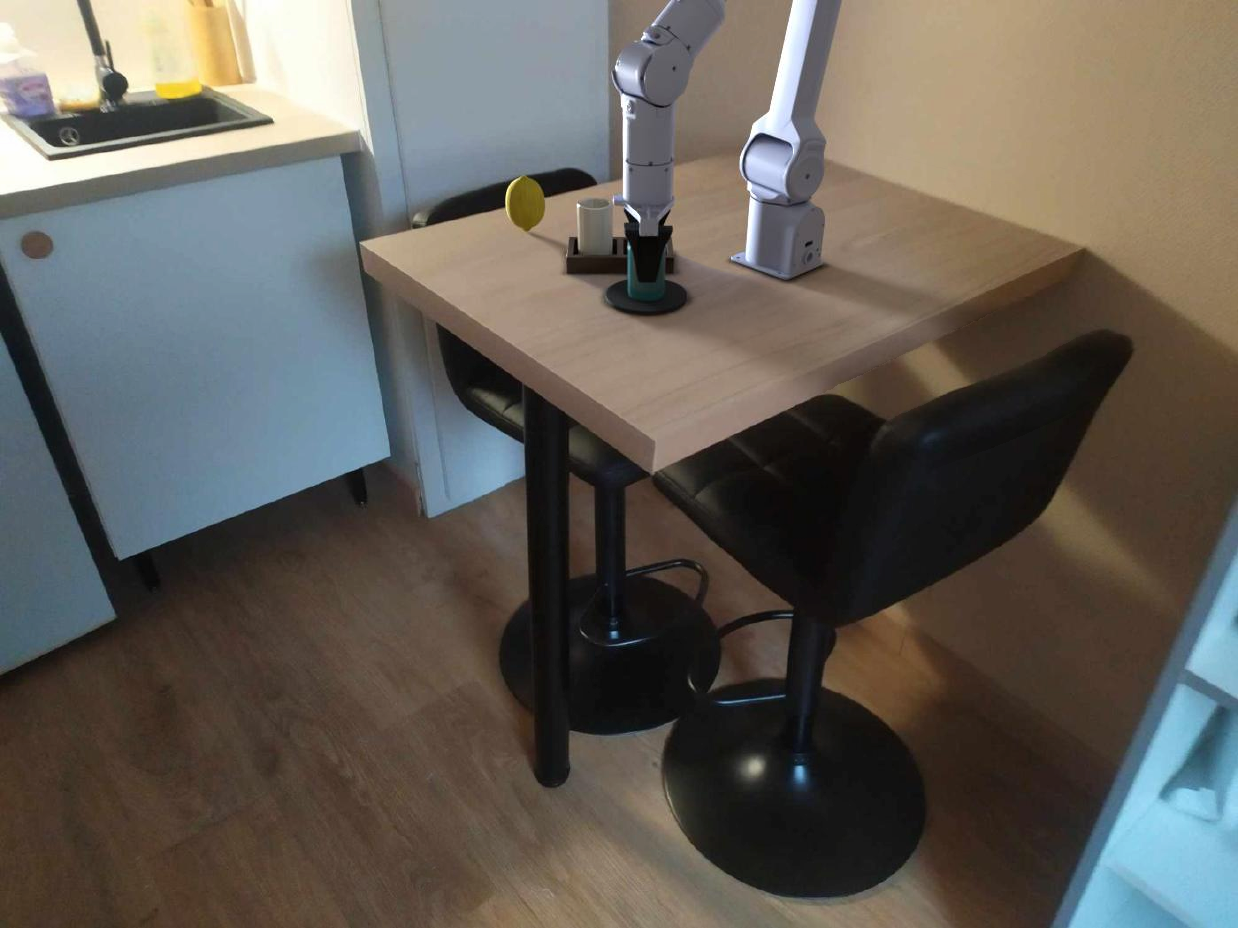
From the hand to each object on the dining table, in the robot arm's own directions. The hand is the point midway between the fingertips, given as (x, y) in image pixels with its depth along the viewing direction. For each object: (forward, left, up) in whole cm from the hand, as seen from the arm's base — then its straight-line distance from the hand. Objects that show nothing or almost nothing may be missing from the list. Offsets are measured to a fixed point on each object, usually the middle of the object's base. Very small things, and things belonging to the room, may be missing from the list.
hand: (646, 272), depth 111 cm
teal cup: (0, 0, -3) cm, 3 cm away
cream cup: (+12, -3, -3) cm, 13 cm away
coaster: (0, 0, -3) cm, 3 cm away
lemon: (+28, -3, -3) cm, 28 cm away
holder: (+10, -5, -3) cm, 12 cm away
